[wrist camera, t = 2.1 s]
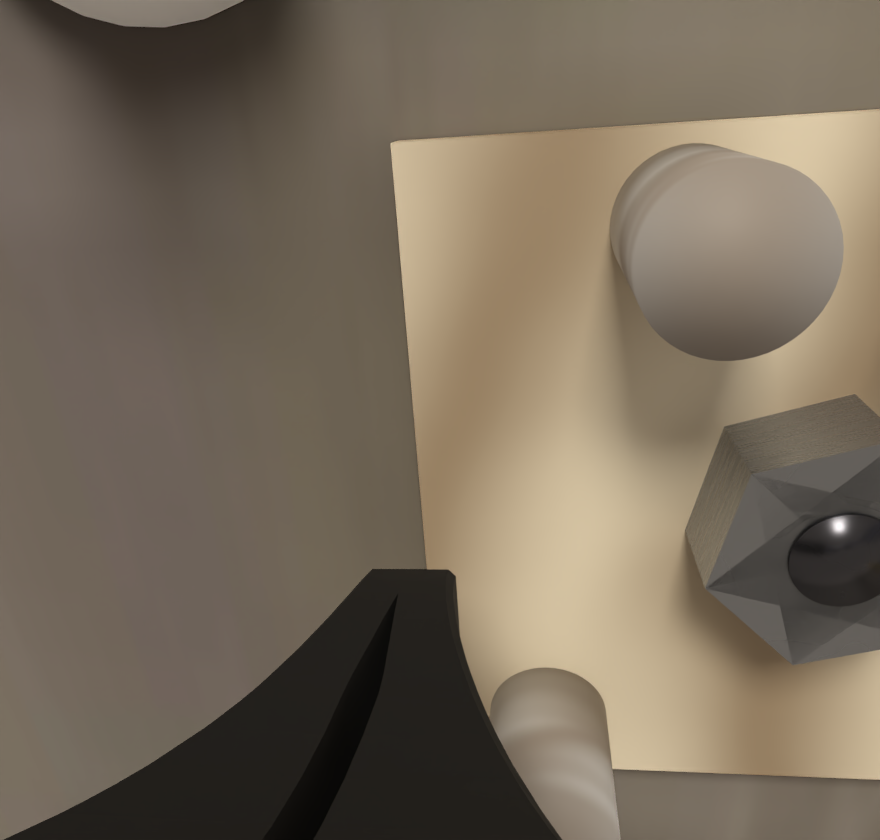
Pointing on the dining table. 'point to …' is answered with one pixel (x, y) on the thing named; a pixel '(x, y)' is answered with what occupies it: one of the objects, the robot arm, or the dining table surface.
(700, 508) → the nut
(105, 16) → the hook
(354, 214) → the dining table surface
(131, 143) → the dining table surface
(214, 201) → the dining table surface
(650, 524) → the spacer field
